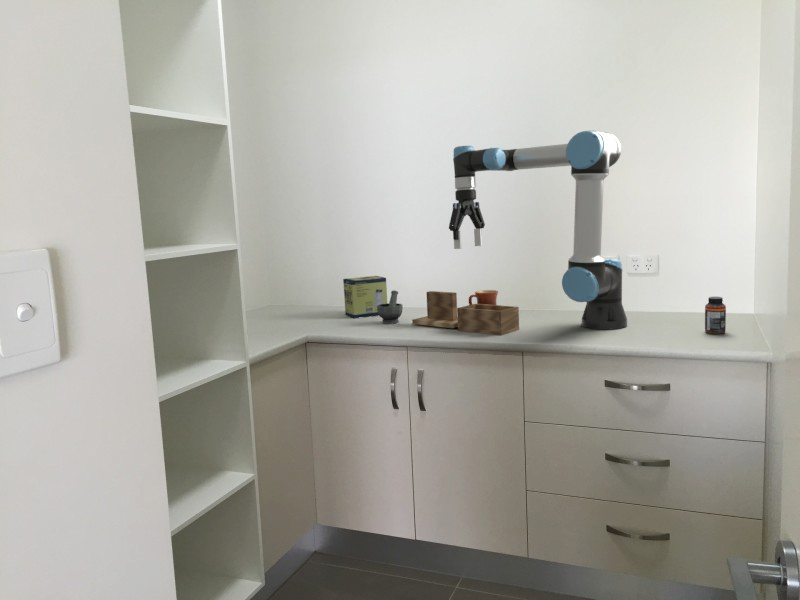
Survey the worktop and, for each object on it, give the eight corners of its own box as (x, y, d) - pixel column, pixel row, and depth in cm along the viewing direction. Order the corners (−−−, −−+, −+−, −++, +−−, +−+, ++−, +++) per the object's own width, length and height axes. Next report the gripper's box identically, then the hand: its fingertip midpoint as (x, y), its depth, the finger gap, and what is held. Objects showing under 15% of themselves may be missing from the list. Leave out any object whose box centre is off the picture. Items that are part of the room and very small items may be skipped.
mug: (491, 315, 265) (490, 289, 264) (503, 318, 257) (502, 291, 256) (464, 318, 261) (463, 292, 259) (475, 321, 253) (474, 294, 251)
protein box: (344, 315, 282) (342, 278, 280) (378, 311, 289) (376, 275, 287) (353, 318, 273) (351, 280, 271) (388, 314, 279) (386, 277, 277)
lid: (473, 324, 248) (471, 291, 246) (453, 330, 239) (452, 295, 237) (432, 320, 260) (431, 289, 259) (412, 325, 251) (411, 293, 250)
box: (519, 329, 233) (518, 306, 232) (501, 335, 225) (501, 311, 224) (476, 325, 245) (475, 303, 244) (458, 330, 237) (457, 308, 236)
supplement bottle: (707, 330, 217) (708, 295, 215) (727, 331, 213) (728, 296, 212) (702, 333, 212) (702, 298, 211) (722, 335, 209) (723, 299, 207)
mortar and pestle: (396, 325, 253) (394, 293, 251) (373, 324, 257) (372, 293, 255) (408, 320, 263) (407, 289, 261) (386, 319, 267) (385, 289, 265)
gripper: (475, 189, 259) (478, 245, 261) (437, 190, 240) (440, 250, 242) (492, 188, 254) (494, 244, 257) (454, 188, 235) (457, 249, 238)
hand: (468, 247), depth 249 cm, fingers open, 13 cm apart
